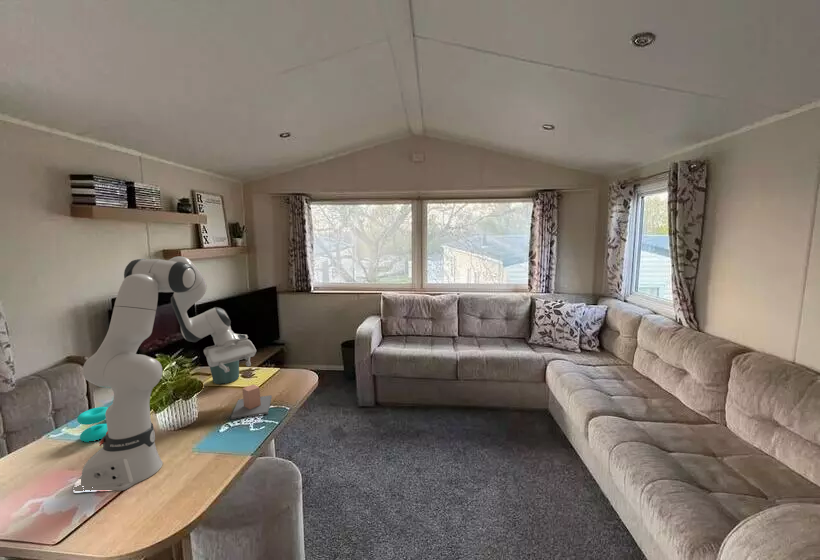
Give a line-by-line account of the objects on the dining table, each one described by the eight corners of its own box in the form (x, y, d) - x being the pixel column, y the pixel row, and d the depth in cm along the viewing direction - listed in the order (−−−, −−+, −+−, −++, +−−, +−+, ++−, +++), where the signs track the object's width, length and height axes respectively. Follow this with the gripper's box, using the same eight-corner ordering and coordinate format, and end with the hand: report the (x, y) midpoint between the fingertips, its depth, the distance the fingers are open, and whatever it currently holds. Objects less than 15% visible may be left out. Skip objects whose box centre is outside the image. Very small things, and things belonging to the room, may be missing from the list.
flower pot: (205, 388, 188) (202, 356, 186) (210, 376, 204) (207, 347, 202) (241, 383, 194) (239, 352, 192) (244, 372, 209) (241, 343, 207)
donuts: (75, 420, 137) (78, 410, 145) (79, 447, 139) (81, 435, 147) (110, 412, 143) (111, 403, 151) (114, 437, 145) (114, 427, 153)
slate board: (231, 419, 156) (231, 417, 156) (238, 401, 172) (238, 399, 172) (267, 414, 159) (267, 411, 159) (271, 397, 176) (271, 395, 175)
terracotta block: (249, 409, 162) (248, 391, 161) (243, 406, 165) (242, 388, 164) (260, 405, 166) (259, 387, 165) (254, 401, 169) (253, 384, 168)
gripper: (203, 343, 162) (215, 371, 156) (250, 334, 177) (262, 358, 172) (200, 352, 165) (211, 379, 160) (246, 342, 180) (258, 366, 175)
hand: (238, 368), depth 166 cm, fingers open, 8 cm apart
